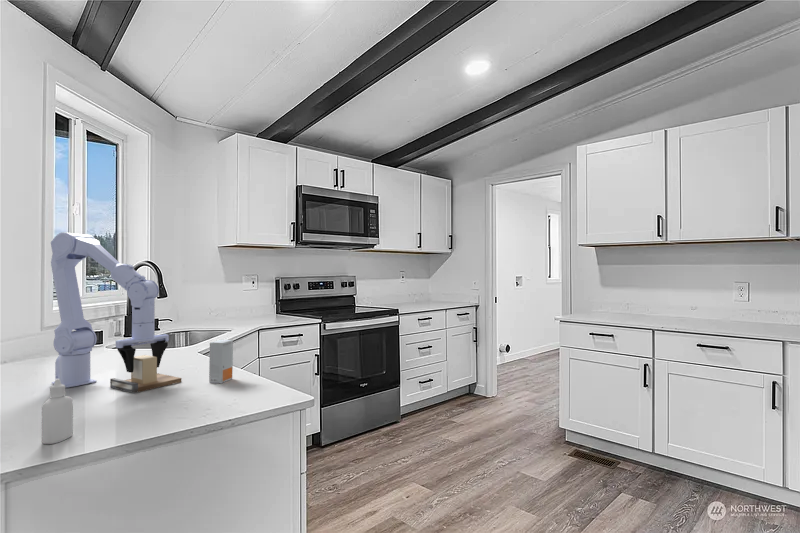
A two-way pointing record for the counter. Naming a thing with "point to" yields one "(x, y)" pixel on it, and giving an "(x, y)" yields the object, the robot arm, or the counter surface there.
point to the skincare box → (221, 361)
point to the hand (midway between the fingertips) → (143, 369)
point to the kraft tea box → (144, 369)
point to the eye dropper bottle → (57, 415)
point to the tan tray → (137, 387)
